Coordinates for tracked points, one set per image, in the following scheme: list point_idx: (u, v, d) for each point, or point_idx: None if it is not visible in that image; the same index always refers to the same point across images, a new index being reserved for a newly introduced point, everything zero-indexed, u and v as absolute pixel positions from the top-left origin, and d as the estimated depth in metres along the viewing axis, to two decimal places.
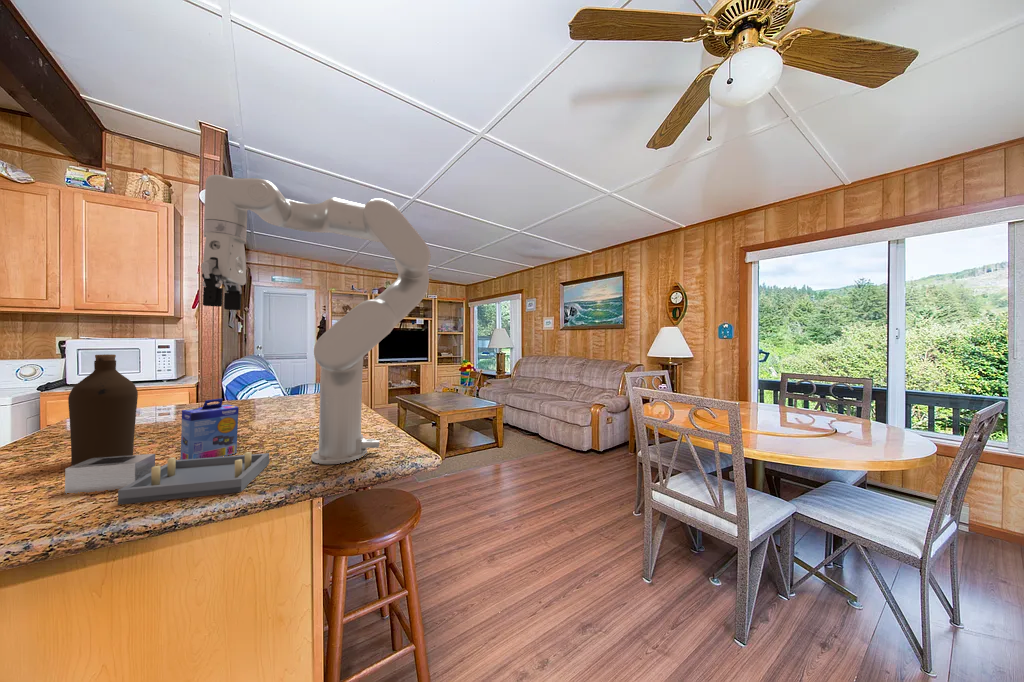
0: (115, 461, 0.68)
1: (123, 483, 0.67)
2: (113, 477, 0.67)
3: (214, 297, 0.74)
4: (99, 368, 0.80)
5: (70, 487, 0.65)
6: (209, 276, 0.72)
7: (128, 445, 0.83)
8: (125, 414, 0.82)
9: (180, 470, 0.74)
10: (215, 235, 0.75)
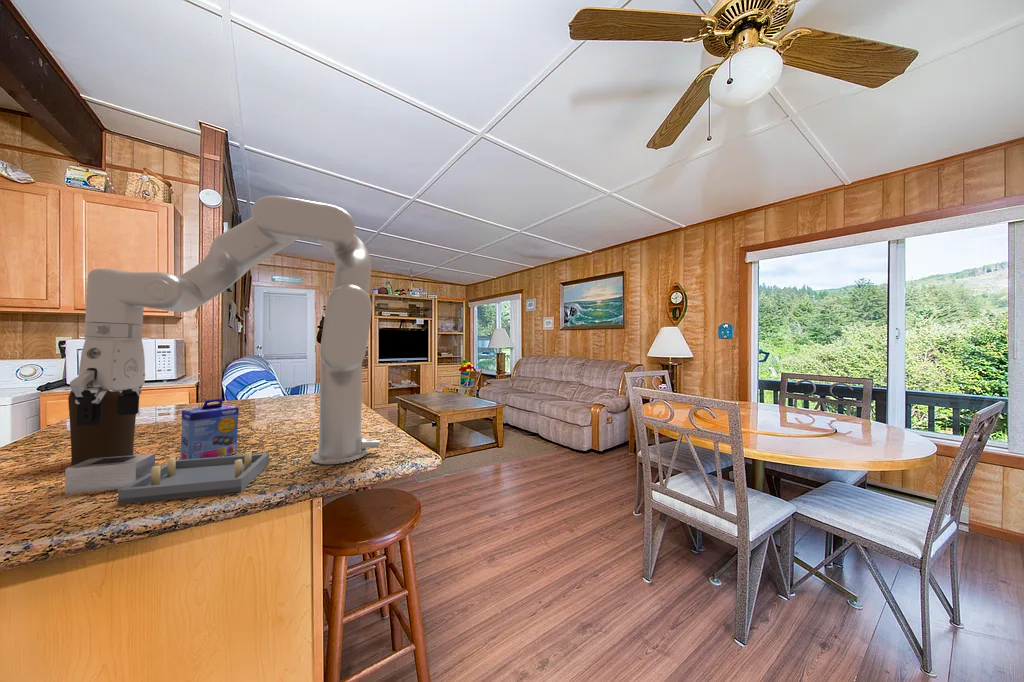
0: (115, 461, 0.68)
1: (123, 483, 0.67)
2: (114, 477, 0.67)
3: (90, 416, 0.63)
4: None
5: (70, 487, 0.65)
6: (82, 394, 0.62)
7: (128, 445, 0.83)
8: None
9: (180, 470, 0.74)
10: (95, 341, 0.65)
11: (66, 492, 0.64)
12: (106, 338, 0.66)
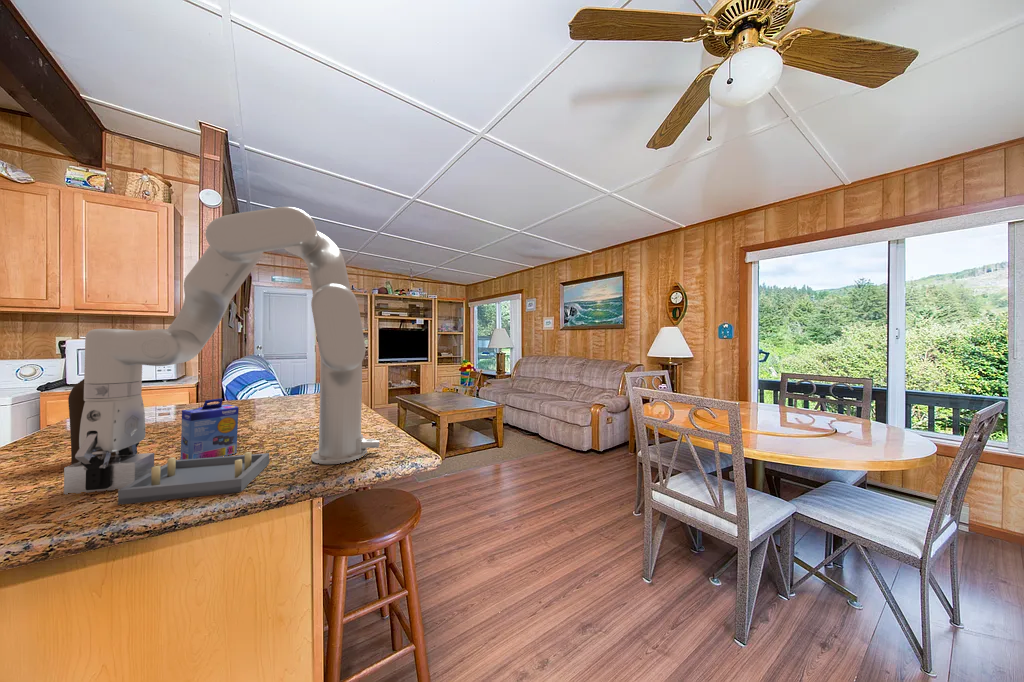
0: (114, 460, 0.68)
1: (122, 482, 0.67)
2: (113, 476, 0.67)
3: (98, 480, 0.65)
4: None
5: (69, 486, 0.64)
6: (90, 462, 0.63)
7: None
8: None
9: (180, 470, 0.74)
10: (94, 403, 0.65)
11: (65, 491, 0.64)
12: (105, 399, 0.66)
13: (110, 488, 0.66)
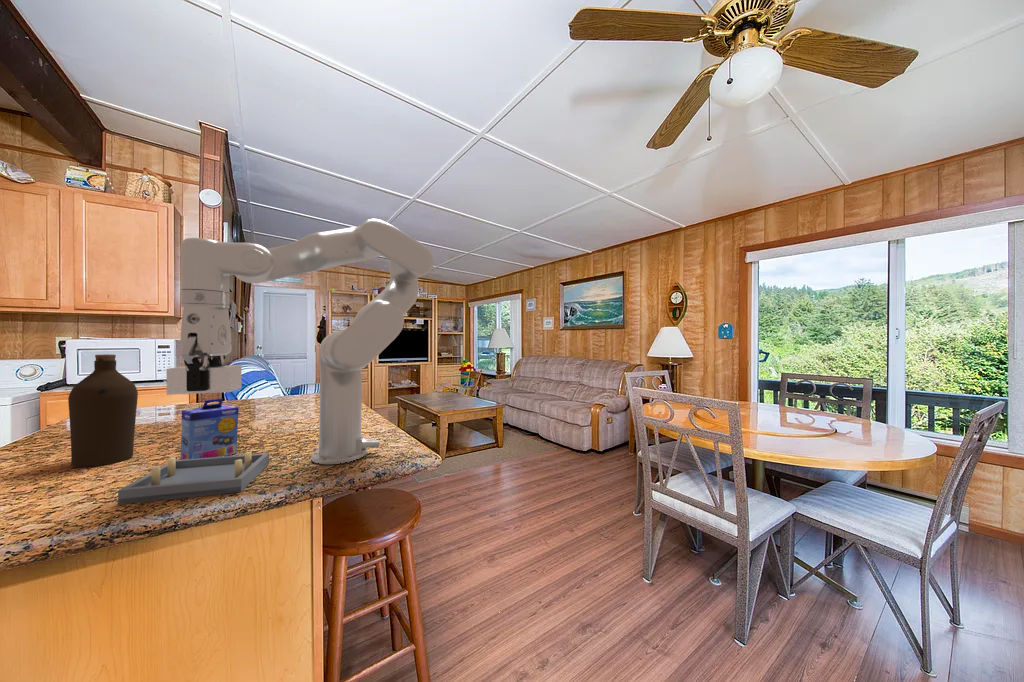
0: (209, 366, 0.71)
1: (218, 385, 0.70)
2: (210, 379, 0.69)
3: (199, 382, 0.67)
4: (99, 368, 0.80)
5: (171, 387, 0.67)
6: (192, 361, 0.66)
7: (128, 445, 0.83)
8: (125, 414, 0.82)
9: (180, 470, 0.74)
10: (193, 307, 0.67)
11: (168, 391, 0.67)
12: (202, 304, 0.68)
13: (208, 391, 0.69)
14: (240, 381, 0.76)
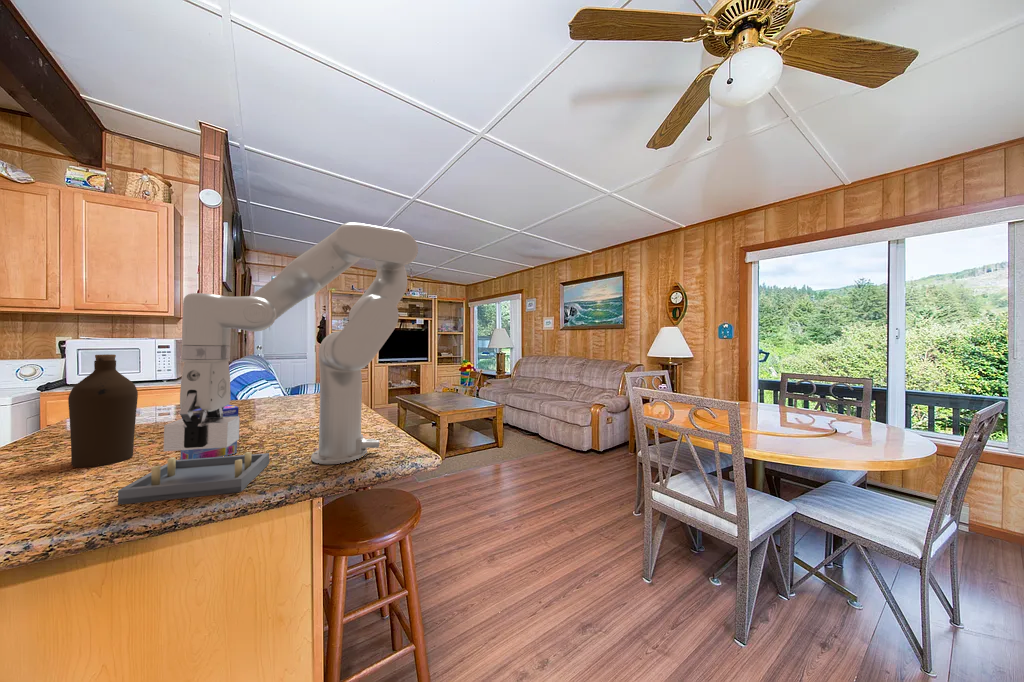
0: (207, 420, 0.70)
1: (216, 441, 0.69)
2: (208, 435, 0.69)
3: (196, 438, 0.67)
4: (99, 368, 0.80)
5: (168, 443, 0.67)
6: (191, 419, 0.66)
7: (128, 445, 0.83)
8: (125, 414, 0.82)
9: (180, 470, 0.74)
10: (194, 364, 0.67)
11: (165, 448, 0.67)
12: (203, 360, 0.68)
13: (205, 447, 0.69)
14: (238, 432, 0.75)
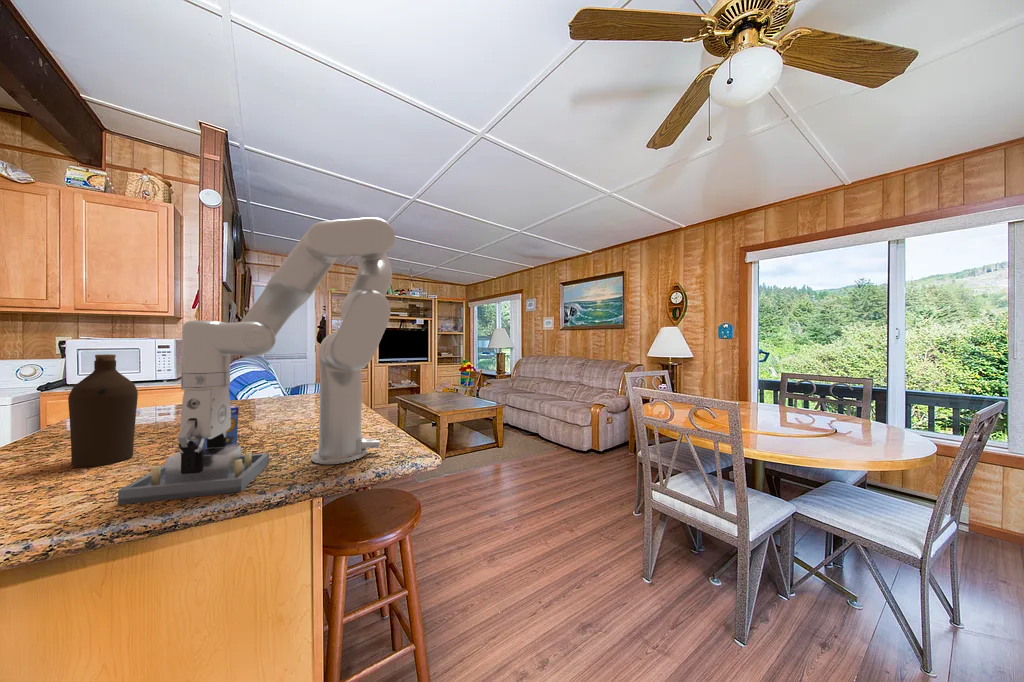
0: (208, 452, 0.71)
1: (217, 473, 0.69)
2: (208, 467, 0.69)
3: (193, 464, 0.66)
4: (99, 368, 0.80)
5: (170, 477, 0.67)
6: (187, 445, 0.64)
7: (128, 445, 0.83)
8: (125, 414, 0.82)
9: None
10: (194, 392, 0.67)
11: (166, 481, 0.67)
12: (203, 388, 0.68)
13: (206, 479, 0.69)
14: None
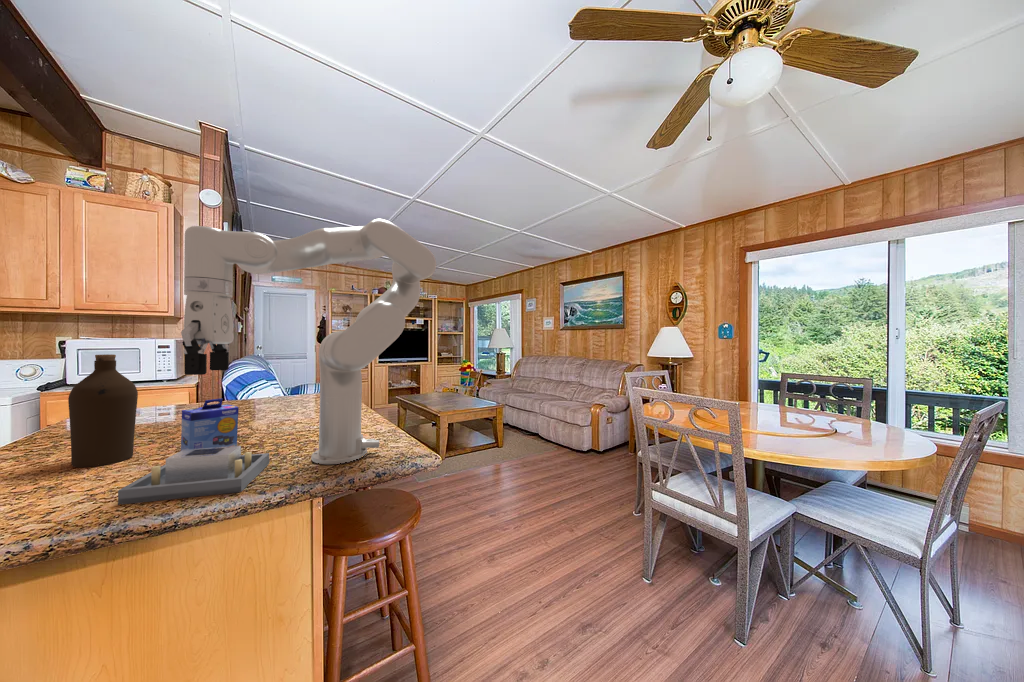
0: (208, 452, 0.71)
1: (217, 473, 0.69)
2: (208, 467, 0.69)
3: (197, 365, 0.66)
4: (99, 368, 0.80)
5: (170, 477, 0.67)
6: (191, 343, 0.64)
7: (128, 445, 0.83)
8: (125, 414, 0.82)
9: None
10: (197, 295, 0.67)
11: (166, 481, 0.67)
12: (205, 292, 0.68)
13: (206, 479, 0.69)
14: None
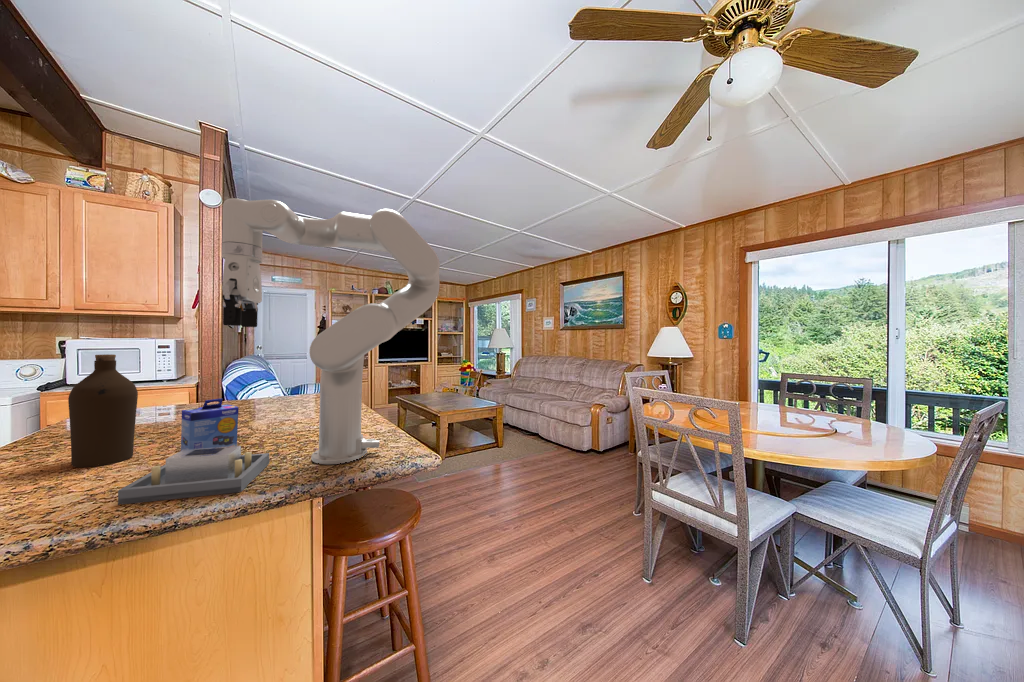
0: (208, 452, 0.71)
1: (217, 473, 0.69)
2: (208, 467, 0.69)
3: (234, 317, 0.77)
4: (99, 368, 0.80)
5: (170, 477, 0.67)
6: (230, 297, 0.75)
7: (128, 445, 0.83)
8: (125, 414, 0.82)
9: None
10: (233, 257, 0.78)
11: (166, 481, 0.67)
12: (241, 255, 0.79)
13: (206, 479, 0.69)
14: None
